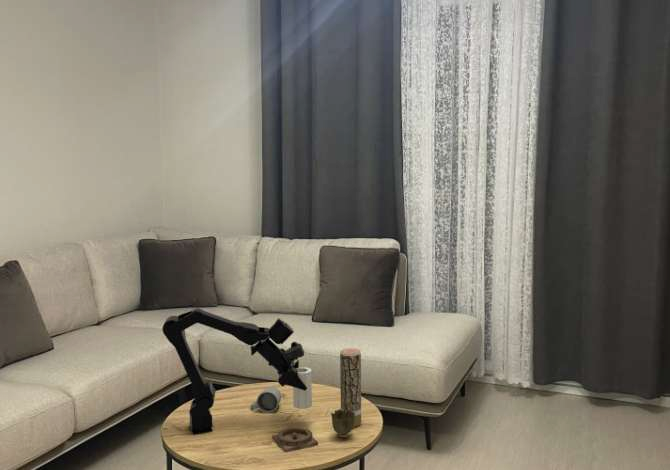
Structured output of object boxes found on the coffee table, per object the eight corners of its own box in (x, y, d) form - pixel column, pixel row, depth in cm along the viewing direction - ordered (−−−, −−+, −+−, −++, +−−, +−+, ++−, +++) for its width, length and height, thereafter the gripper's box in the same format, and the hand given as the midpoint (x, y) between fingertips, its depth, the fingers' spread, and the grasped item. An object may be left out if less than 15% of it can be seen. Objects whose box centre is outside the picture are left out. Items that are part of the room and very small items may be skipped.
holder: (285, 452, 205) (284, 443, 205) (272, 438, 215) (272, 430, 215) (318, 444, 210) (317, 436, 210) (303, 432, 220) (303, 423, 219)
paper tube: (359, 429, 222) (358, 355, 218) (339, 427, 223) (338, 354, 220) (362, 420, 228) (362, 348, 225) (343, 419, 230) (342, 348, 226)
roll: (302, 410, 220) (301, 374, 219) (289, 405, 224) (289, 370, 223) (315, 405, 225) (315, 370, 223) (303, 400, 229) (302, 366, 227)
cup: (341, 430, 221) (341, 406, 220) (359, 436, 216) (359, 412, 215) (326, 438, 215) (326, 414, 214) (345, 444, 210) (344, 419, 209)
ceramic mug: (282, 404, 244) (281, 384, 243) (278, 413, 236) (277, 392, 235) (253, 404, 245) (252, 383, 244) (248, 413, 237) (247, 391, 236)
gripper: (288, 345, 212) (323, 378, 214) (291, 329, 231) (323, 360, 232) (263, 369, 213) (299, 402, 215) (268, 352, 232) (301, 382, 233)
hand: (306, 386), depth 224 cm, fingers closed on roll, 6 cm apart
